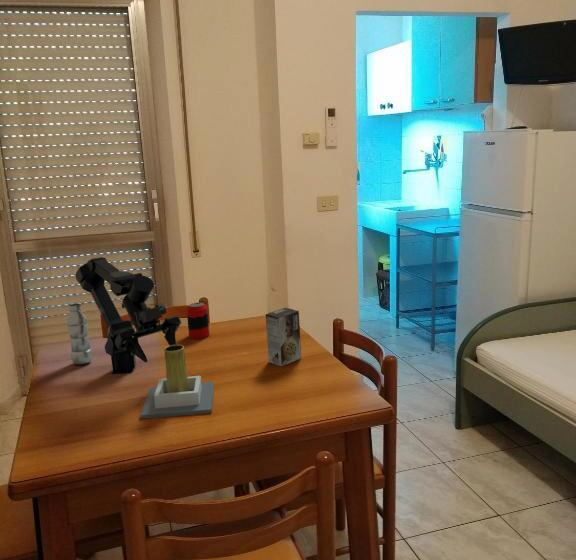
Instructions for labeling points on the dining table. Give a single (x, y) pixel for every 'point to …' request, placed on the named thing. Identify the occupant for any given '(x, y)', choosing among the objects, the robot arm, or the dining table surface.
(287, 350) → the coffee box
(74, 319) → the plastic bottle
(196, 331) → the soda can
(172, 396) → the holder
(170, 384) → the vase
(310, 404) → the dining table surface
